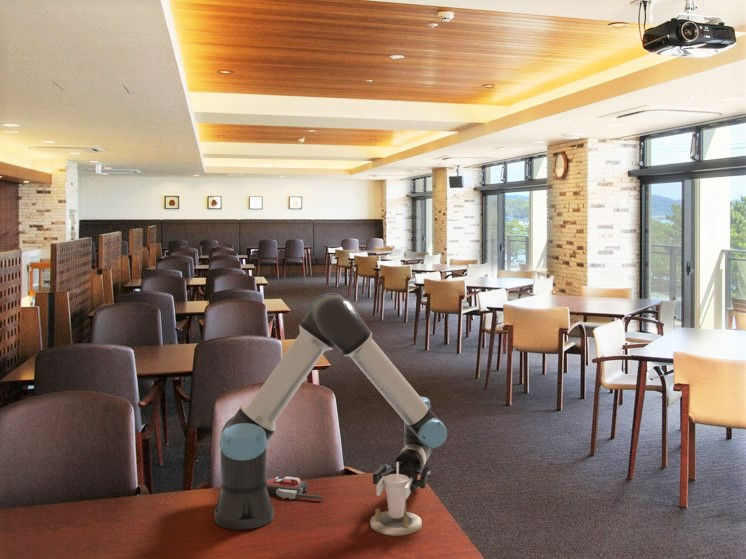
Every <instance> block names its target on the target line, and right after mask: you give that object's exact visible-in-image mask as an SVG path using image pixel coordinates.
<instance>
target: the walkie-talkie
mask: <svg viewBox="0 0 746 559" xmlns="http://www.w3.org/2000/svg"><path fill="white" fill-rule="evenodd" d="M308 489H309V485H308V483H307V481H305V480H301V478H300V477H297V476H294V477H293V476H288V475H287V476H284V477H283V478H279V476H276V477H267V490H268V493H270V494H269V495H274V494H276V496H277V497H279V496H280V497H282V498H281V499H285V498H289V499H288V500H292V499H295V498H296V499H300V498H302V499H308V500H309V499H310V500H313V499H318V500H321V499H322V500H323V499H324V497H323V495H316V494H314V495H313V494H306V493H304V492H308ZM280 497H279V498H280ZM296 499H295V500H296Z"/></svg>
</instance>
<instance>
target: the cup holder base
mask: <svg viewBox="0 0 746 559" xmlns="http://www.w3.org/2000/svg"><path fill="white" fill-rule="evenodd" d="M407 506H408V504H407V502H406V501H405V509H404V516H403V517H401V518H392V517H390V516H389V510H386V511H382V512H381V508H377V507H376V508H375V514H374V515H372V517H371V518H370V524H369V525H370V528H371V529H372V530H373V531H375V532H376V533H380V534H381V535H386V536H394V537H395V536H398V537H399V536H407V535H411V534H414V533H416V532H418V531H420V530H421V528H422V527H423V526H422V524H423V523H422V522H423V521H422V518H421V517H420V516H418V514H416V513H413V512H408V511H407Z"/></svg>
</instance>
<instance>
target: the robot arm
mask: <svg viewBox="0 0 746 559" xmlns="http://www.w3.org/2000/svg"><path fill="white" fill-rule="evenodd" d="M298 328H299V329H298V330H299V334H298V335H297V337H296V338H295V339H294V341H293V343H291V345H290V346H289V348H288V349H287V351H286V352H285V354H284V355H283V356H282V358H281V360H280V361H279V362H278V363H277V365H276V366H275V368H274V369H273V371H272V372H271V373H270V375H269V376H268V377H267V379H266V380H265V382H264V383H263V384H262V386H261V388H260V389H259V390H258V391H257V393H256V394H255V396H254V397H253V399H252V400H251V402H250V403H248V404H243V405H241V406H240V407H239V409H238V410H237V411H236V413H235V414H234V416H232V417H231V418H229V419H228V420H227V421H226V422H225V424H224V425H223V427H222V429H221V432H220V440H219V448H220V493H219V496H218V500H217V502H216V507H215V509H214V523H215V524H216V525H217V526H218V527H221V528H223V529H225V530H226V529H228V530H233V531H234V530H237V531H239V530H240V531H241V530H242V531H243V530H244V531H245V530H252V529H257V528H261V527H263V526H266V525H268V524H269V523H270V522H272V521H273V519H274V518H275V517H274V516H275V512H274V511H275V510H274V505H273V503H272V501H271V500H272V499H271V496H270V494H269V493H268V490H267V479H268V477H267V475H268V474H267V472H268V471H267V467H268V466H267V445H268V442H269V440H270V439H271V438H272V436H273V434H274V433H275V431H276V430H277V429H276V421H277V420H278V418H279V416H281V413H282V412H283V410H284V409H285V408H286V407H287V406H288V404H289V402H290V401H291V400H292V398H293V397H294V395H295V394H296V393H297V391H298V390H299V389H300V387H301V385H302V384H303V382H305V380H306V378H307V377H308V375H309V374H310V373H311V371H312V370H313V369H314V367H315V366H316V365H317V363H318V362H319V360H320V358H322V356H323V355H324V353H325V352H327V351H332V350H334V348H336V349H338V350H339V351H340V353H341V354H342V355H343V356H344V357H350V358H351V360H352V361H353V362H354V363H355V365H356V366H357V367H358V368H359V369H360V371H361V372H362V373H363V374H364V375H365V377H367V379H368V380H369V382H370V383H372V384H373V386H374V387H375V388H376V389H377V391H378V392H379V393H380V394H381V395H382V397H383V398H384V399H385V401H387V403H388V404H389V405H390V406H391V407H392V408H393V410H394V411H395V412H396V413H397V414H398V415H399V417H400V418H401V419H402V420H403V425H404V427H403V428H404V429H403V430H404V433H403V434H404V435H403V437H404V438H403V439H404V440H403V448H402V450H400V452H399V454H398V455H397V457H396V458H395V460H394V462H392V463H391V464H390V465H388V464H387V463H386V462H381V463H380V466H379V467H378V468H377V469H376V470H375V471H374V472H373V473H372V484H373V485H375V489H376V496H377V497H380V496H381V495H382V493H383V491H384V490H385V489H386V485H385V483H384V477H385V476H387V475H390V474H397V462H399V474H402V475H405V476H407V477H408V478H409V481H408V482H407V484H406V486H405V487H404V498H406V500H407V499H408V498H409V496H410V495H411V493H412V492H415V491H416V489H418V488H420V489H425V488H426V485H427V482H428V479H429V478H431V466H429V465H428V466H425V464H426V463H427V462H428V460H429V458H430V457H431V454H432V450H433V449H435V448H438V447H441V446H442V445H443V443H445V442H446V439H447V437H448V430H447V427H446V426H445V424H444V423H443V421H442V420H440V419H439V418H438V417H437V416H436V414H435V413H434V412H433V410H431V409H432V406H431V400H430V399H429V398H428V397H425V396H420V395H419V394H418V392H417V391H416V390H415V389H414V388H413V386H412V385H411V384H410V383H409V382H408V381H407V379H406V377H405V376H404V375H403V374H402V373H401V371H400V370H399V369H398V368H397V367H396V366H395V365H394V363H393V362H392V361H391V360H390V359H389V357H388V356H387V354H386V353H385V352H384V351H383V350H382V348H380V347H379V345H378V344H377V343H376V341H375V340H374V339H373V331H371V330H370V328H369V327H368V326H367V324H366V323H365V321H364V320H363V318H362V317H361V315H360V314H359V312H358V310H357V309H356V307H355V305H354V304H352V302H351V301H349V300H348V299H347V298H345V297H344V296H342V295H340V294H338V293H334V292H332V293H324V294H321V295H318V296H317V297H316V298H315V299H314V300H313V301H312V302H311V304H310V306H309V308H308V312H307V313H306V315H305V316H304V318H303V319H302V321H301V322H300V324H298ZM424 466H425V467H424ZM419 475H420V477H419V478H420V479H418V476H419Z"/></svg>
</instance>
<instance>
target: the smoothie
mask: <svg viewBox="0 0 746 559" xmlns="http://www.w3.org/2000/svg"><path fill="white" fill-rule="evenodd" d="M408 481H409V478H408V477H407V476H405V475H402V474H399V462H397V474H390V475H387V476H385V477H384V483H385V485H386V487H385V493H386V501H387V509H388V510H387V511H389V516H390V517H392V518H401V517H403V516H404V509H405V502H406V500H407V499H406V498H404V487H405V486H406V484H407V482H408Z"/></svg>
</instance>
